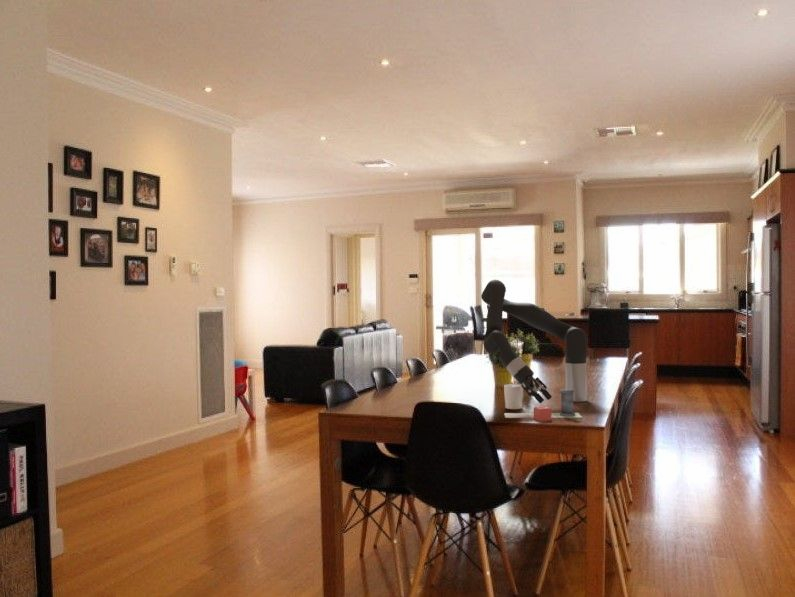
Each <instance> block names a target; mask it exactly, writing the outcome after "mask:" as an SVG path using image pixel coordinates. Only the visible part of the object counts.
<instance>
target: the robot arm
mask: <svg viewBox="0 0 795 597" xmlns="http://www.w3.org/2000/svg"><path fill="white" fill-rule="evenodd" d="M506 292H507V287H506V286H505V284H504V283H503V282H502V281H501V280H499V279H492V280H490V281H489V282H488V283H487V284H486V286H485V287H484V289H483V291H482V292H481V296H480V298H481V300H482V301H483V302H484V303H485V304H486V305H488V311H487V314H486V320H485V321H486V330H485V334H484V338H483V348H484V350H485V351H486V352H487V353H489V354H496V353H498V352H500V354H499V357H498V360H499V361H500V362H501V363H502V365H503V366H504V367H505V368H506V370H507V371H508V372H509V374H510V375H511V376H512V377H513V378H514V379H515V380H516V382H517V383H518V385H521V386H522V390H524V391H525V392H526V394H527V395H528V396H529V397H531V396H532V397H533V398H535V400H536V401H537V402H538V403H539V404H542V403H543V402H544V398H546V400H547V401H549V400H551V399H552V397H553V396H552V395H551V394H550V392H549V391H548V390H547V389H548V386H547V385H546V384H545V383H544V382H543V381H542V380H541V379H540V377H536V378H535V377H534V374H535V373H534V371H533V370H532V369H531V368H530V367H529V366H528V364H527V363H526V362H525V361H524V360H523V359H522V358H520V356H518V354H517V353H516V352H515V351H514V349H513V348H512V346H511V344H510V342H509V340H508V338H507V337H506V335H505V334H504V333H503V312H504V313H507V314H509V315H510V316H513V317H515V318H517V319H518V320H520V321H522V322H524V323H526V325H527V324H528V325H529V326H531V327H533V328H535V329H537V330H540V331H542V332H545V333H548V334H550V335H553V336H555V337H556V338H558V339H559V340H561V341H562V342H564V343H565V359H564V361H565V365H564V366H565V367H564V368H565V369H564V370H565V389H571V390H574V393H573V403H575V402H578V403H580V402H587V400H588V394H587V392H588V391H587V386H588V384H587V381H588V380H587V357H588V338H587V337H588V336H587V334H586V332H585V330H583V329H582V328H579V327H577V326H576V327H575V326H573V325H571V324H567V323H566V322H563V321H561V320H560V319H558V318H556V317H555V316H554V315H553V314H551V313H550V312H548V311H546V310H545V309H544V308H542V307H540V306H538V305H536V304H534V303H531V302H513V301H510V300H508V299H505V296H506ZM539 392H540V393H541V394H540V393H539ZM541 395H543V396H544V398H543V396H541Z"/></svg>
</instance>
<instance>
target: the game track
mask: <svg viewBox="0 0 795 597" xmlns="http://www.w3.org/2000/svg"><path fill="white" fill-rule="evenodd" d="M574 413H575V416H561V415H560V412H551V419H552V418H554V419H556V418H557V419H559V418H560V419H561V418H563V419H565V418H569V419H583V416H582V415H581V414H580V413H579V412H574ZM503 415H504V418H505V419H507V418H508V419H527V418H528V419H530V418H531V419H534V412H505V413H504V414H503Z"/></svg>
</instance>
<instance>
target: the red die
mask: <svg viewBox="0 0 795 597" xmlns="http://www.w3.org/2000/svg"><path fill="white" fill-rule="evenodd" d="M533 413H534V418H533V419H534V420H535V421H539V422H547V421H552V418H551V413H552V407H548V406H543V405H542V406H539V405H537V406H534V407H533Z"/></svg>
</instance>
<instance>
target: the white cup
mask: <svg viewBox="0 0 795 597" xmlns="http://www.w3.org/2000/svg"><path fill="white" fill-rule="evenodd" d="M503 391H504V393H503V394H504V395H503V396H504V404H505V409H507V410H519V409H522V407H523V406H522V405H523V403H522V402H523V388H522V386H521V384H519V383H518V384H515V383H513V384H511V383H510V384H504V385H503Z"/></svg>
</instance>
